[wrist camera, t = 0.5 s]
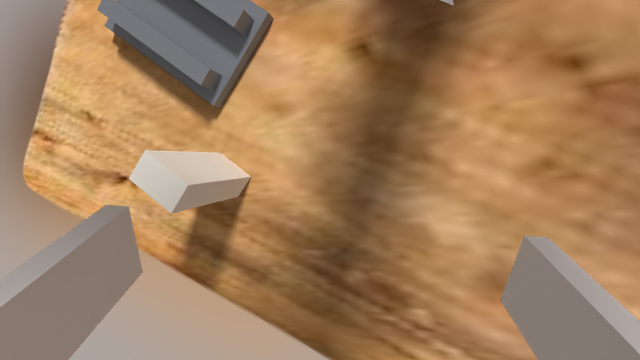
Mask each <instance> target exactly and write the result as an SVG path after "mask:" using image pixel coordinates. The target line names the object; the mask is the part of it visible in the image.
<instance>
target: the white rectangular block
mask: <svg viewBox="0 0 640 360" xmlns="http://www.w3.org/2000/svg"><path fill="white" fill-rule="evenodd" d="M250 178H251V176H250V175H248V174H247V173H246V172H244V171H243V170H242V169H240V168H239V167H238V166H236V165H235V164H234V163H232V162H231V161H230V160H229V159H227V158H226V157H225V156H223V155H222V154H221V153H210V152H180V151H150V150H145V151H144V153H143V155H142V156H141V158H140V160H139V162H138V164H137V165H136V167H135V169H134V171H133V173H132V174H131V176H130V178H129V179H130V180H131V181H132V182H133V183H135V184H136V185H137V186H138V187H140V188H141V189H142V190H143V191H144V192H146V193H147V194H148V195H149V196H150V197H152V198H153V199H154V200H155V201H157V202H158V203H159V204H160V205H161V206H163V207H164V208H165V209H166V210H167V211H169V212H170V213H175V212H179V211H183V210H187V209H191V208H195V207H199V206H203V205H207V204H211V203H215V202H219V201H223V200H227V199H231V198H235V197H238V196H239V195H240V193H241V192H242V190H243V189H244V187H245V186H246V184H247V183H248V181H249V179H250Z"/></svg>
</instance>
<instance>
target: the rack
mask: <svg viewBox="0 0 640 360" xmlns="http://www.w3.org/2000/svg"><path fill="white" fill-rule="evenodd" d="M97 10H98V11H100V12H101V13H103V14H104V15H105V16H107V17H108V20H107V22H106V24H105V26H106V27H107V28H109V29H110V30H111V31H113V32H114V33H115V34H117V35H118V36H119V37H121V38H122V39H123V40H125V41H126V42H127V43H129V44H130V45H132V46H133V47H134V48H136V49H137V50H138V51H140V52H141V53H142V54H144V55H145V56H146V57H148V58H149V59H150V60H152V61H153V62H155V63H156V64H157V65H159V66H160V67H161V68H163V69H164V70H165V71H167V72H168V73H169V74H171V75H172V76H174V77H175V78H176V79H178V80H179V81H180V82H182V83H183V84H184V85H186V86H187V87H188V88H190V89H191V90H192V91H194V92H195V93H197V94H198V95H199V96H201V97H202V98H203V99H205V100H206V101H207V102H209V103H210V104H211V105H213V106H215V107H219V108H221V106H222V104H223V103H224V101H225V99H226V98H227V96H228V94H229V93H230V91H231V89H232V87H233V86H234V84H235V82H236V81H237V79H238V77H239V76H240V74H241V72H242V71H243V69H244V67H245V66H246V64H247V62H248V60H249V59H250V57H251V55H252V54H253V52H254V50H255V49H256V47H257V45H258V44H259V42H260V40H261V39H262V37H263V35H264V34H265V32H266V30H267V28H268V27H269V25H270V23H271V22H272V20H273V17H272V16H271V15H270V14H269V13H268V12H267V11H265V10H264V9H262V8H261V7H259V6H258V5H256V4H255V3H253V2H252V1H250V0H102V1H101V3H100V5H99V7H98V9H97Z"/></svg>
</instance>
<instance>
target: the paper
mask: <svg viewBox="0 0 640 360" xmlns="http://www.w3.org/2000/svg"><path fill="white" fill-rule="evenodd" d="M440 1H443V2H446V3H448V4H451V5H454V3H453V0H440Z"/></svg>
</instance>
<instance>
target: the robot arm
mask: <svg viewBox="0 0 640 360" xmlns="http://www.w3.org/2000/svg"><path fill="white" fill-rule="evenodd" d="M141 273H142V267H141V262H140V258H139V253H138V248H137V243H136V239H135V234H134V229H133V225H132V220H131V215H130V211H129V207H126V206H113V205H106V206H104V207H103V208H101V209H100V210H98V211H97V212H96V213H94V214H93V215H91V216H90V217H88V218H87V219H86V220H84V221H83V222H81V223H80V224H78V225H77V226H76V227H74V228H73V229H71V230H70V231H68V232H67V233H66V234H65V235H63V236H61V237H60V238H58V239H57V240H56V241H54V242H53V243H52V244H50V245H48V246H47V247H46V248H44V249H43V250H41V251H40V252H38V253H37V254H36V255H34V256H33V257H31V258H30V259H28V260H27V261H26V262H24V263H23V264H21V265H20V266H19V267H17V268H16V269H14V270H13V271H12V272H10V273H9V274H7V275H6V276H4V277H3V278H1V279H0V360H68V359H69V358H70V357H71V356H72V355H73V354H74V352H75V351H76V350H77V349H78V348H79V346H80V345H81V344H82V343H83V342H84V341H85V339H86V338H87V337H88V336H89V335H90V333H91V332H92V331H93V330H94V329H95V328H96V326H97V325H98V324H99V323H100V322H101V321H102V319H103V318H104V317H105V316H106V315H107V314H108V312H109V311H110V310H111V309H112V308H113V306H114V305H115V304H116V303H117V302H118V301H119V299H120V298H121V297H122V296H123V295H124V293H125V292H126V291H127V290H128V289H129V288H130V286H131V285H132V284H133V283H134V282H135V280H136V279H137V278H138V277H139V276H140V274H141ZM501 302H502V304H503V305H504V307H505V308H506V310H507V311H508V313H509V315H510V316H511V318H512V319H513V321H514V322H515V324H516V326H517V327H518V329H519V330H520V332H521V333H522V335H523V337H524V338H525V340H526V341H527V343H528V344H529V346H530V348H531V349H532V351H533V352H534V354H535V355H536V357H537V359H538V360H640V321H639V320H637V319H636V318H635V317H634V316H633V315H632V314H631V313H630V312H629V311H628V310H627V309H626V308H624V307H623V306H622V305H621V304H620V303H619V302H618V301H617V300H616V299H615V298H614V297H612V296H611V295H610V294H609V293H608V292H607V291H606V290H605V289H604V288H603V287H602V286H601V285H599V284H598V283H597V282H596V281H595V280H594V279H593V278H592V277H591V276H590V275H589V274H587V273H586V272H585V271H584V270H583V269H582V268H581V267H580V266H579V265H578V264H577V263H575V262H574V261H573V260H572V259H571V258H570V257H569V256H568V255H567V254H566V253H565V252H564V251H562V250H561V249H560V248H559V247H558V246H557V245H556V244H555V243H554V242H553V241H552V240H550V239H549V238H548V237H534V236H524V238H523V241H522V244H521V246H520V249H519V252H518V254H517V257H516V260H515V262H514V265H513V268H512V270H511V273H510V276H509V278H508V281H507V284H506V286H505V289H504V292H503V294H502V297H501Z"/></svg>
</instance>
